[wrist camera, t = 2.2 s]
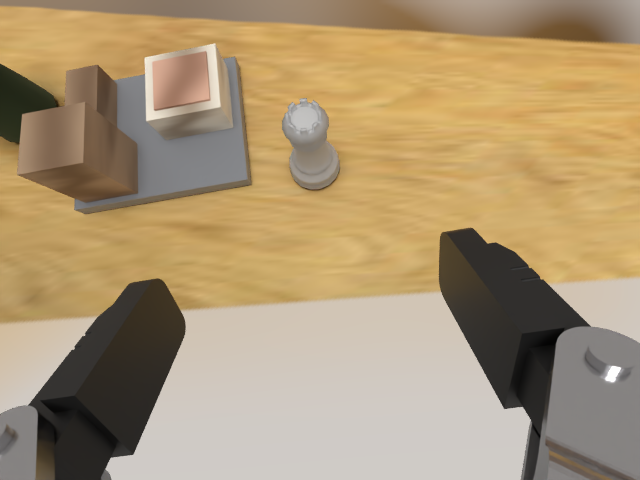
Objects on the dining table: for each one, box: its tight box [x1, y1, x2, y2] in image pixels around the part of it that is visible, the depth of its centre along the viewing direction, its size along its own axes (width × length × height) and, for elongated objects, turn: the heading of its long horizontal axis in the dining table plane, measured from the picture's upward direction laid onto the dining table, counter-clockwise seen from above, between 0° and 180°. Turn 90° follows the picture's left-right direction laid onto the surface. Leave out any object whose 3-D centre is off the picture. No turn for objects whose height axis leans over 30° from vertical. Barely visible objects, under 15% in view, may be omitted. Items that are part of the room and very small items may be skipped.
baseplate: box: [74, 57, 251, 214], centre depth 30 cm, size 16×13×1 cm
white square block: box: [145, 44, 233, 140], centre depth 28 cm, size 6×6×3 cm
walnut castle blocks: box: [17, 65, 138, 203], centre depth 27 cm, size 5×12×6 cm, turn 9°
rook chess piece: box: [282, 98, 340, 189], centre depth 25 cm, size 4×4×8 cm
